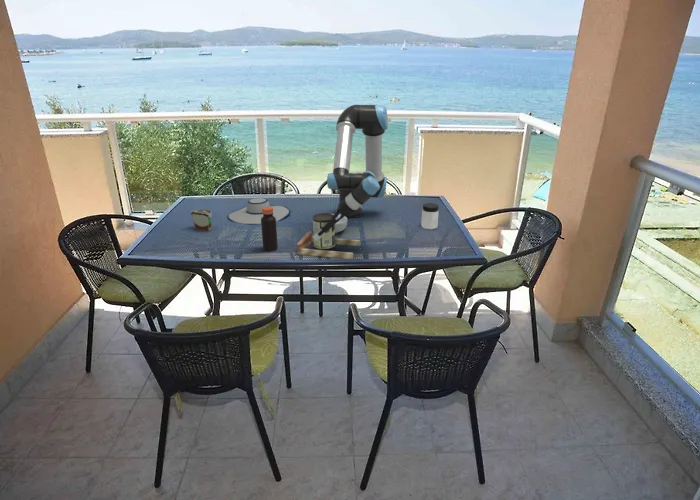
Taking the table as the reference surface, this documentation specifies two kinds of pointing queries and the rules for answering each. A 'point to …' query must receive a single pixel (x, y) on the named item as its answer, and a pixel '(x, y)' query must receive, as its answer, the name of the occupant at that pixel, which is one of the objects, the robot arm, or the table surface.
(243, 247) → the table surface
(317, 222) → the coffee can
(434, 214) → the jar
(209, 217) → the food container
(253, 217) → the sun hat
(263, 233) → the bottle
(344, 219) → the cereal bowl
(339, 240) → the guide
